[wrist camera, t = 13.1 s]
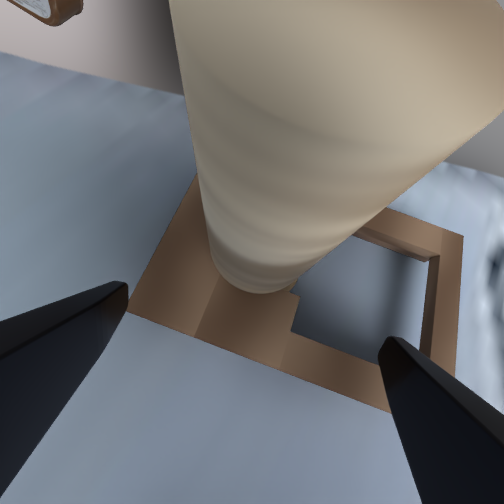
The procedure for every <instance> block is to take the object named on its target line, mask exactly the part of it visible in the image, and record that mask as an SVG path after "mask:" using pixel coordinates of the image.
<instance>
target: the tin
mask: <svg viewBox="0 0 504 504" xmlns="http://www.w3.org/2000/svg"><path fill="white" fill-rule="evenodd" d="M7 1H9V2H11V3H12V4H14V5H16V6H17V7H19V8H20V9H22V10H24V11H25V12H27V13H28V14H30V15H32V16H33V17H35V18H37V19H38V20H40V21H41V22H43V23H45V24H47V25H49V26H59V25H61V24H63V23H64V22H65V21H67V20H68V19H70V18H71V17H72V16H74V15H77V14H80V13H81V12H82V10H83V0H7Z"/></svg>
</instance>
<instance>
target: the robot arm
mask: <svg viewBox="0 0 504 504" xmlns="http://www.w3.org/2000/svg"><path fill="white" fill-rule="evenodd" d="M127 308H128V284H127V283H125V282H120V281H112V282H109V283H106V284H103V285H101V286H98V287H95V288H92V289H89V290H87V291H84V292H81V293H78V294H76V295H73V296H70V297H67V298H64V299H62V300H59V301H56V302H53V303H50V304H48V305H45V306H42V307H39V308H36V309H34V310H31V311H28V312H25V313H22V314H20V315H17V316H14V317H11V318H8V319H6V320H3V321H0V498H1V496H2V495H3V493H4V492H5V490H6V489H7V488H8V486H9V485H10V483H11V482H12V481H13V479H14V478H15V476H16V475H17V473H18V472H19V471H20V469H21V468H22V466H23V465H24V463H25V462H26V461H27V459H28V458H29V456H30V455H31V454H32V452H33V451H34V449H35V448H36V446H37V445H38V444H39V442H40V441H41V439H42V438H43V436H44V435H45V434H46V432H47V431H48V429H49V428H50V427H51V425H52V424H53V422H54V421H55V419H56V418H57V417H58V415H59V414H60V412H61V411H62V409H63V408H64V407H65V405H66V404H67V402H68V401H69V400H70V398H71V397H72V395H73V394H74V392H75V391H76V390H77V388H78V387H79V385H80V384H81V382H82V381H83V380H84V378H85V377H86V375H87V374H88V373H89V371H90V370H91V368H92V367H93V365H94V364H95V363H96V361H97V360H98V358H99V357H100V355H101V354H102V352H103V351H104V349H105V348H106V346H107V344H108V342H109V341H110V339H111V337H112V335H113V333H114V332H115V330H116V328H117V326H118V324H119V323H120V321H121V319H122V317H123V315H124V314H125V312H126V310H127ZM378 362H379V367H380V371H381V375H382V379H383V384H384V388H385V392H386V396H387V400H388V404H389V407H390V410H391V413H392V416H393V419H394V422H395V425H396V428H397V431H398V434H399V437H400V440H401V443H402V446H403V449H404V452H405V455H406V457H407V460H408V463H409V466H410V469H411V472H412V475H413V478H414V481H415V484H416V487H417V490H418V493H419V496H420V499H421V502H422V504H504V415H503V414H502V413H500V412H499V411H498V410H497V409H495V408H494V407H493V406H491V405H490V404H489V403H487V402H486V401H485V400H483V399H482V398H481V397H479V396H478V395H477V394H475V393H474V392H473V391H471V390H470V389H469V388H468V387H466V386H465V385H464V384H462V383H461V382H460V381H458V380H457V379H456V378H454V377H453V376H452V375H450V374H449V373H448V372H446V371H445V370H444V369H442V368H441V367H440V366H439V365H437V364H436V363H435V362H433V361H432V360H431V359H429V358H428V357H427V356H425V355H424V354H423V353H421V352H420V351H419V350H417V349H416V348H415V347H413V346H412V345H411V344H409V343H408V342H407V341H406V340H404V339H403V338H401V337H396V336H388V337H387V338H386V340H385V341H384V343H383V345H382V347H381V348H380V350H379V352H378Z"/></svg>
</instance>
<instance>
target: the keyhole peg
mask: <svg viewBox="0 0 504 504" xmlns="http://www.w3.org/2000/svg"><path fill="white" fill-rule="evenodd" d="M169 5H170V11H171V17H172V23H173V29H174V35H175V41H176V47H177V53H178V59H179V65H180V71H181V77H182V83H183V89H184V95H185V101H186V107H187V113H188V119H189V125H190V131H191V137H192V143H193V149H194V155H195V161H196V167H197V173H198V179H199V185H200V191H201V197H202V203H203V209H204V215H205V221H206V227H207V233H208V239H209V245H210V251H211V256H212V260H213V262H214V265H215V267H216V268H217V270H218V272H219V273H220V274H221V275H222V277H223V278H224V279H225V280H226V281H228V282H229V283H230V284H232V285H233V286H235V287H237V288H238V289H240V290H243V291H246V292H250V293H257V294H266V293H272V292H276V291H279V290H281V289H282V290H284V291H287V292H289V291H290V290H291V289H292V288H293V287H294V285H295V283H296V282H297V280H298V278H299V277H300V276H301V275H302V274H304V273H305V272H306V271H307V270H309V269H310V268H311V267H312V266H314V265H315V264H316V263H317V262H318V261H320V260H321V259H322V258H323V257H325V256H326V255H327V254H328V253H330V252H331V251H332V250H333V249H335V248H336V247H337V246H338V245H340V244H341V243H342V242H343V241H344V240H346V239H347V238H348V237H349V236H351V235H352V234H353V233H354V232H356V231H357V230H358V229H359V228H361V227H362V226H363V225H364V224H365V223H367V222H368V221H369V220H370V219H372V218H373V217H374V216H375V215H377V214H378V213H379V212H380V211H382V210H383V209H384V208H385V207H387V206H388V205H389V204H390V203H391V202H393V201H394V200H395V199H396V198H398V197H399V196H400V195H401V194H403V193H404V192H405V191H406V190H408V189H409V188H410V187H411V186H413V185H414V184H415V183H416V182H417V181H419V180H420V179H421V178H422V177H424V176H425V175H426V174H427V173H429V172H430V171H431V170H432V169H434V168H435V167H436V166H437V165H438V164H440V163H441V162H442V161H443V160H445V159H446V158H447V157H448V156H449V155H451V154H452V153H453V152H455V151H456V150H457V149H458V148H460V147H461V146H462V145H463V144H464V143H466V142H467V141H468V140H469V139H471V138H472V137H473V136H474V135H476V134H477V133H478V132H479V131H481V130H482V129H483V128H484V127H485V126H486V125H488V124H489V123H490V122H491V121H493V120H494V119H495V118H496V117H497V116H498V115H499V114H500V113H501V112H502V111H503V110H504V10H503V9H502V7H501V6H500V5H499V4H498V2H497V1H496V0H169Z"/></svg>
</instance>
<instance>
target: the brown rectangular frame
mask: <svg viewBox="0 0 504 504" xmlns="http://www.w3.org/2000/svg"><path fill="white" fill-rule="evenodd" d="M352 235H353V236H356V237H358V238H361V239H364V240H366V241H369V242H372V243H374V244H377V245H380V246H382V247H385V248H388V249H390V250H393V251H396V252H398V253H401V254H404V255H406V256H409V257H412V258H414V259H417V260H420V261H423V262H426V261H429V268H428V276H427V285H426V294H425V303H424V312H423V321H422V330H421V339H420V348H419V351H420V352H421V353H423V354H424V355H425V356H427V357H428V358H429V359H431V360H432V361H433V362H435V363H436V364H437V365H439V366H440V367H441V368H442V369H444V370H445V371H446V372H448V373H449V374H450V375H452V376H453V377H454V378H455V364H456V348H457V332H458V317H459V301H460V285H461V269H462V253H463V237H464V236H463V235H460V234H457V233H454V232H452V231H449V230H446V229H444V228H441V227H438V226H435V225H433V224H430V223H427V222H425V221H422V220H419V219H417V218H414V217H411V216H408V215H406V214H403V213H400V212H398V211H395V210H392V209H390V208H387V207H385V208H384V209H383V210H382V211H380V212H379V213H378V214H377V215H375V216H374V217H373V218H372V219H370V220H369V221H368V222H367V223H365V224H364V225H363V226H362V227H361V228H359V229H358V230H357V231H356V232H354V233H353V234H352ZM299 300H300V296H298V295H295V294H292V293H290V292H287V291H284V290H282V289H281V290H279V291H276V292H272V293H266V294H257V293H250V292H246V291H243V290H240V289H238V288H237V287H235V286H233V285H232V284H230V283H229V282H228V281H226V280H225V279H224V278H223V277H222V275H221V274H220V273H219V272H218V270H217V268H216V267H215V265H214V262H213V260H212V256H211V251H210V245H209V239H208V233H207V227H206V221H205V215H204V209H203V203H202V197H201V191H200V185H199V179H198V173H197V174H196V176H195V178H194V179H193V181H192V183H191V185H190V187H189V189H188V191H187V192H186V194H185V196H184V198H183V200H182V202H181V204H180V206H179V207H178V209H177V211H176V213H175V215H174V217H173V219H172V221H171V222H170V224H169V226H168V228H167V230H166V232H165V234H164V235H163V237H162V239H161V241H160V243H159V245H158V247H157V249H156V250H155V252H154V254H153V256H152V258H151V260H150V262H149V264H148V265H147V267H146V269H145V271H144V273H143V275H142V277H141V279H140V280H139V282H138V284H137V286H136V288H135V290H134V292H133V293H132V295H131V297H130V299H129V301H128V308H127V310H126V311H127V312H129V313H132V314H135V315H137V316H140V317H142V318H145V319H148V320H150V321H153V322H155V323H158V324H161V325H163V326H166V327H168V328H171V329H173V330H176V331H179V332H181V333H184V334H186V335H189V336H192V337H194V338H197V339H199V340H202V341H205V342H207V343H210V344H212V345H215V346H217V347H220V348H223V349H225V350H228V351H230V352H233V353H236V354H238V355H241V356H243V357H246V358H248V359H251V360H254V361H256V362H259V363H261V364H264V365H267V366H269V367H272V368H274V369H277V370H280V371H282V372H285V373H287V374H290V375H292V376H295V377H298V378H300V379H303V380H305V381H308V382H311V383H313V384H316V385H318V386H321V387H324V388H326V389H329V390H331V391H334V392H336V393H339V394H342V395H344V396H347V397H349V398H352V399H355V400H357V401H360V402H362V403H365V404H368V405H370V406H373V407H375V408H378V409H380V410H383V411H386V412H388V413H391V410H390V407H389V404H388V400H387V396H386V392H385V388H384V384H383V379H382V375H381V371H380V367H379V365H376V364H374V363H371V362H368V361H366V360H363V359H360V358H358V357H355V356H353V355H350V354H347V353H345V352H342V351H340V350H337V349H334V348H332V347H329V346H327V345H324V344H321V343H319V342H316V341H314V340H311V339H308V338H306V337H303V336H300V335H298V334H295V333H293V332H290V331H291V327H292V324H293V320H294V317H295V313H296V310H297V306H298V303H299ZM391 414H392V413H391Z"/></svg>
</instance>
